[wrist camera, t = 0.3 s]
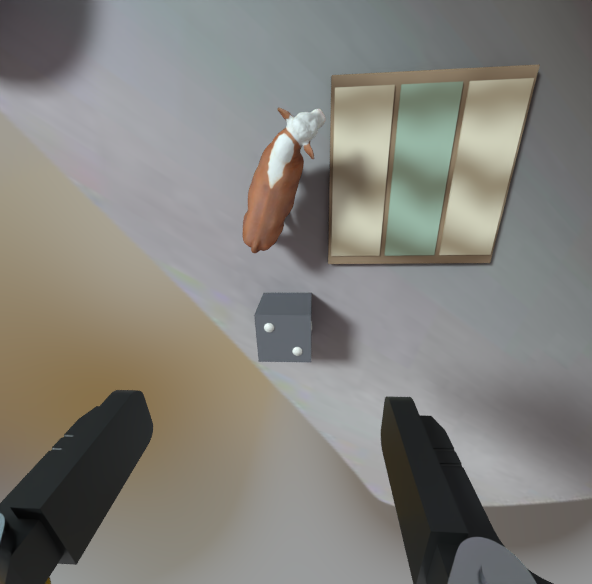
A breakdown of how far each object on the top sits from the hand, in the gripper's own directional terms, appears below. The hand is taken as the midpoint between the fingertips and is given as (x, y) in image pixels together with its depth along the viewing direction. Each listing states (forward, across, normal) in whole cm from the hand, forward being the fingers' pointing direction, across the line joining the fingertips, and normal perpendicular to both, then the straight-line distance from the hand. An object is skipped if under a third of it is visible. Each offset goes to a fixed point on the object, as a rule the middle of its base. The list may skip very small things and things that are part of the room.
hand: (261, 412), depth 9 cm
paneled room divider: (+26, -12, -6) cm, 29 cm away
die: (+26, +2, +10) cm, 27 cm away
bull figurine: (+26, +2, -6) cm, 27 cm away
